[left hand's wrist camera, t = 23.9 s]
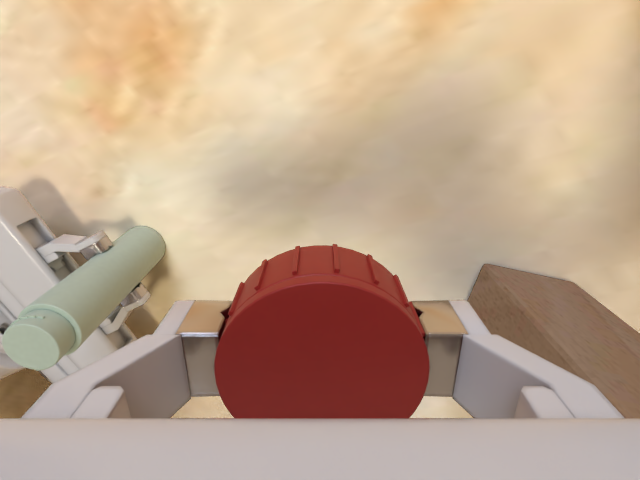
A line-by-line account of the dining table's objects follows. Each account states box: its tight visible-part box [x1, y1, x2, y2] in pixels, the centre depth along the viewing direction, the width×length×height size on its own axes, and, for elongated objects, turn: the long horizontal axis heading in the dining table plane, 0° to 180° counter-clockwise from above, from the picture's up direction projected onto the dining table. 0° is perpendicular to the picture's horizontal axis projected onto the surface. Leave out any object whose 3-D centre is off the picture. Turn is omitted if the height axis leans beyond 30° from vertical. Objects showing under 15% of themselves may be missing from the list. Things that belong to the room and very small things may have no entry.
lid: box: [214, 244, 430, 418], centre depth 9 cm, size 5×5×2 cm
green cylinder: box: [2, 226, 165, 371], centre depth 30 cm, size 4×4×16 cm
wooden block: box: [468, 264, 640, 418], centre depth 31 cm, size 10×10×20 cm
